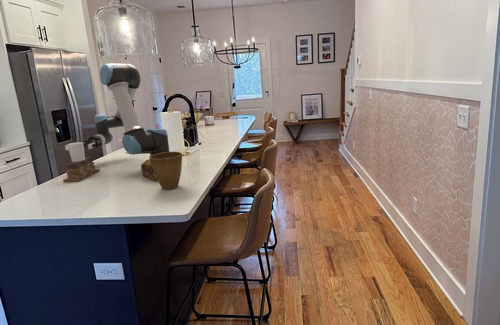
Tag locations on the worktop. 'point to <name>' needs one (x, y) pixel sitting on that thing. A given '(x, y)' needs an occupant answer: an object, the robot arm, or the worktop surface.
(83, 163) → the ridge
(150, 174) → the bread
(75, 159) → the white cup
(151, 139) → the robot arm
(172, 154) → the plant pot
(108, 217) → the worktop surface
